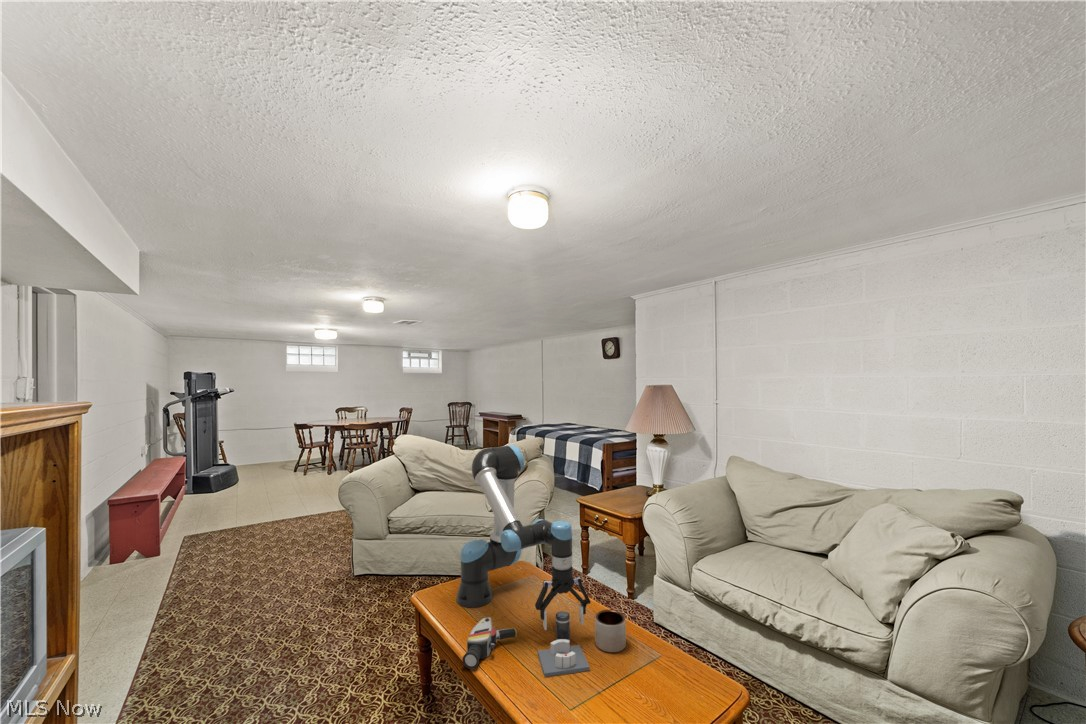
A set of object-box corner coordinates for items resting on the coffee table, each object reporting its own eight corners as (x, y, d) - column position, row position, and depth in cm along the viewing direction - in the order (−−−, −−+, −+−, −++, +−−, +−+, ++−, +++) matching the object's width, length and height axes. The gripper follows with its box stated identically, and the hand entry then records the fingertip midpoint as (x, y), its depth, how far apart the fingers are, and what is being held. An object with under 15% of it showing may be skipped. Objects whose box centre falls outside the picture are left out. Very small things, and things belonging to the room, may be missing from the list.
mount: (537, 654, 154) (537, 639, 154) (579, 648, 157) (579, 634, 157) (544, 677, 142) (544, 661, 142) (589, 670, 145) (589, 655, 145)
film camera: (504, 676, 144) (460, 670, 147) (518, 637, 163) (478, 633, 166) (504, 654, 144) (460, 649, 147) (518, 619, 163) (478, 614, 166)
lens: (554, 636, 164) (554, 611, 164) (568, 635, 165) (567, 610, 165) (557, 645, 159) (557, 619, 159) (571, 643, 160) (571, 617, 160)
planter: (629, 639, 162) (628, 613, 162) (621, 657, 152) (621, 628, 152) (600, 632, 166) (600, 606, 167) (591, 649, 156) (590, 621, 157)
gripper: (530, 574, 156) (531, 635, 156) (598, 566, 161) (599, 626, 160) (526, 565, 164) (527, 624, 163) (591, 558, 169) (593, 616, 168)
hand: (563, 625), depth 162 cm, fingers open, 13 cm apart
